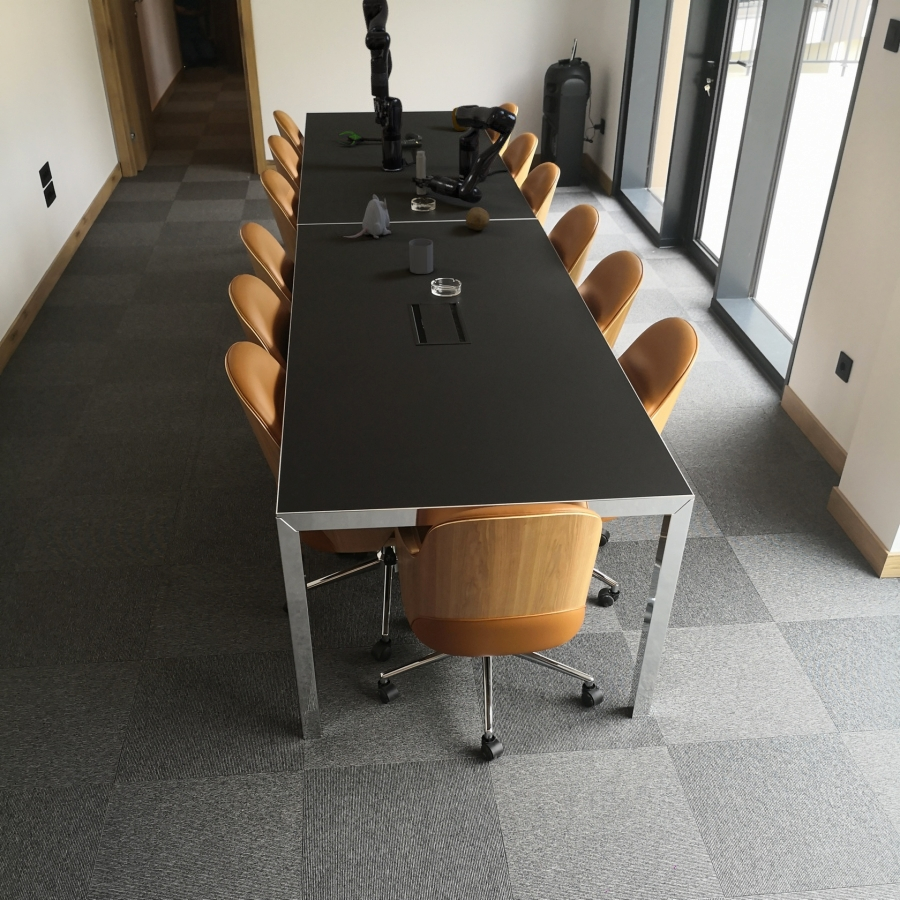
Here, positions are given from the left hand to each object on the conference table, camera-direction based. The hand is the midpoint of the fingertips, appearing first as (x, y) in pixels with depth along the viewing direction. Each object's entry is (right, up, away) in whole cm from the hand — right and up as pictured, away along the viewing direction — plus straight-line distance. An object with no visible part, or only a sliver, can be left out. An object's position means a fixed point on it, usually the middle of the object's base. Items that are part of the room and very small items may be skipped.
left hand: (381, 125), depth 377 cm
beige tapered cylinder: (+17, -27, +10) cm, 33 cm away
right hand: (+15, -20, +8) cm, 27 cm away
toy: (-2, -59, -41) cm, 72 cm away
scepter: (-15, +22, +86) cm, 90 cm away
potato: (+41, -53, -31) cm, 74 cm away
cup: (+20, -78, -69) cm, 106 cm away
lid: (0, +2, -2) cm, 3 cm away
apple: (+36, +39, +113) cm, 125 cm away
